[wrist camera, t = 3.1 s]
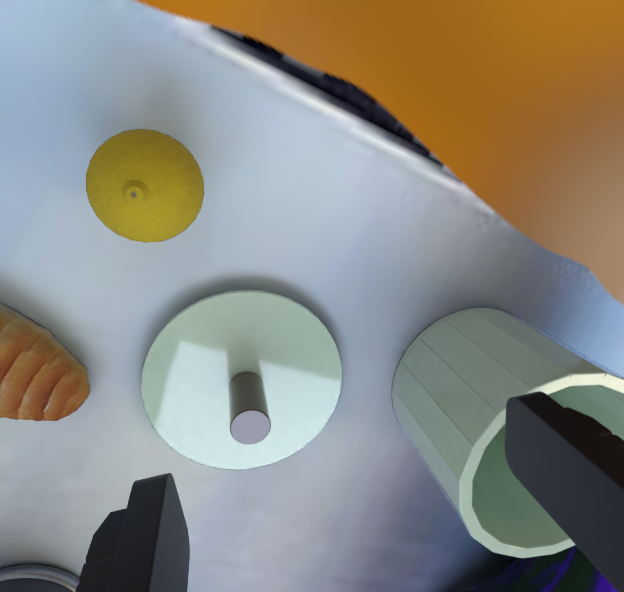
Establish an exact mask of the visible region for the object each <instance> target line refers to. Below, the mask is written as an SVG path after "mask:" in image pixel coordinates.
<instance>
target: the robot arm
mask: <svg viewBox="0 0 624 592" xmlns="http://www.w3.org/2000/svg"><path fill="white" fill-rule="evenodd" d="M505 456H506V460H507V463H508V465H509V468H510V470H511V471H512V473H513V474H514V476H515V477H516V478H517V479H518V480H519V482H520V483H521V484H522V485H523V486H524V487H525V488H526V489H527V491H528V492H529V493H530V494H531V495H532V496H533V497H534V498H535V500H536V501H537V502H538V503H539V504H540V505H541V506H542V507H543V509H544V510H545V511H546V512H547V513H548V514H549V515H550V516H551V518H552V519H553V520H554V521H555V522H556V523H557V524H558V525H559V527H560V528H561V529H562V530H563V531H564V532H565V533H566V534H567V536H568V537H569V538H570V539H571V540H572V541H573V542H574V543H575V545H576V546H577V547H578V548H579V549H580V550H581V551H582V552H583V554H584V555H585V556H586V557H587V558H588V559H589V560H590V561H591V563H592V564H593V565H594V566H595V567H596V568H597V569H598V570H599V572H600V573H601V574H602V575H603V576H604V577H605V578H606V579H607V581H608V582H609V583H610V584H611V585H612V586H613V587H614V588H615V589H616V591H617V592H624V440H623V439H621V438H620V437H619V436H617V435H616V434H615V435H613V434H612V431H610V430H609V429H608V428H606V427H605V426H603V425H602V424H601V423H599V422H598V421H597V420H595V419H594V418H593V417H590V416H588V415H586V414H583V413H581V412H579V411H576V410H574V409H572V408H569V407H566V408H564V407H563V406H561V405H560V404H559V403H557V402H556V401H555V400H553V399H552V398H551V397H549V396H548V395H547V394H545V393H544V392H541V391H537V392H533V393H528V394H524V395H520V396H515V397H511V398H509V399H508V401H507V403H506V420H505ZM189 558H190V547H189V536H188V529H187V525H186V521H185V518H184V514H183V510H182V507H181V503H180V500H179V496H178V492H177V489H176V485H175V482H174V478H173V476H172V474H171V473H168V474H163V475H159V476H155V477H150V478H146V479H141V480H137V481H135V482H134V483H133V486H132V490H131V493H130V497H129V501H128V505H127V509H122V510H118V511H114V512H110V514H109V515H108V516H107V518H106V519H105V520H104V522H103V523H102V524H101V526H100V527H99V528H98V530H97V531H96V532H95V534H94V535H93V538H92V541H91V544H90V547H89V550H88V553H87V557H86V564H84V566H83V569H82V572H81V575H80V578H79V579H78V578H77V577H75V576H74V575H72V574H70V573H68V572H66V571H63V570H61V569H58V568H54V567H50V566H43V565H19V566H12V567H7V568H3V569H0V592H187V585H188V572H189Z"/></svg>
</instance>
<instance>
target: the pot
mask: <svg viewBox="0 0 624 592" xmlns="http://www.w3.org/2000/svg"><path fill="white" fill-rule="evenodd" d="M537 391H541V392H544V393H545V394H547V395H548V396H549V397H551V398H552V399H553V400H555V401H556V402H557V403H559V404H560V405H561V406H563V407H564V408H566V407H569V408H572V409H574V410H576V411H579V412H581V413H583V414H586V415H588V416H590V417H593V418H594V419H595V420H597V421H598V422H599V423H601V424H602V425H603V426H605V427H606V428H608V429H609V430H610V431H612V434H613V435H615V434H616V435H617V436H619V437H620V438H621V439H623V440H624V377H622V376H621V375H619V374H617V373H615V372H614V371H612V370H610V369H608V368H607V367H605V366H603V365H601V364H600V363H598V362H596V361H594V360H593V359H591V358H589V357H587V356H586V355H584V354H582V353H580V352H579V351H577V350H575V349H573V348H572V347H570V346H568V345H566V344H565V343H563V342H561V341H559V340H558V339H556V338H554V337H552V336H551V335H549V334H547V333H545V332H543V331H542V330H540V329H538V328H536V327H535V326H533V325H531V324H529V323H528V322H526V321H524V320H522V319H520V318H518V317H516V316H513V315H511V314H509V313H507V312H505V311H502V310H498V309H493V308H471V309H465V310H461V311H457V312H455V313H452V314H450V315H447V316H445V317H443V318H441V319H439V320H438V321H436V322H435V323H433V324H432V325H430V326H429V327H428V328H426V329H425V330H424V331H423V332H422V333H421V334H420V335H419V336H418V337H417V338H416V339H415V340H414V341H413V342H412V343H411V345H410V346H409V347H408V349H407V350H406V352H405V353H404V355H403V357H402V358H401V360H400V363H399V365H398V367H397V370H396V373H395V376H394V380H393V387H392V402H393V409H394V412H395V415H396V418H397V420H398V422H399V424H400V425H401V427H402V429H403V431H404V433H405V435H406V436H407V438H408V440H409V441H410V443H411V444H412V446H413V447H414V449H415V450H416V452H417V453H418V455H419V457H420V458H421V460H422V461H423V463H424V464H425V466H426V467H427V469H428V470H429V472H430V474H431V475H432V477H433V478H434V480H435V481H436V483H437V484H438V486H439V487H440V489H441V491H442V492H443V494H444V495H445V497H446V498H447V500H448V501H449V503H450V505H451V506H452V508H453V509H454V511H455V512H456V514H457V515H458V517H459V518H460V520H461V522H462V523H463V525H464V526H465V528H466V529H467V531H468V532H469V534H470V535H471V537H472V538H474V539H475V540H477V541H478V542H479V543H481V544H482V545H483V546H485V547H486V548H488V549H489V550H490V551H492V552H494V553H498V554H503V555H508V556H512V557H517V558H528V557H536V556H544V555H551V554H555V553H558V552H560V551H562V550H565V549H567V548H570V547H572V546H574V545H575V543H574V542H573V541H572V540H571V539H570V538H569V537H568V536H567V534H566V533H565V532H564V531H563V530H562V529H561V528H560V527H559V525H558V524H557V523H556V522H555V521H554V520H553V519H552V518H551V516H550V515H549V514H548V513H547V512H546V511H545V510H544V509H543V507H542V506H541V505H540V504H539V503H538V502H537V501H536V500H535V498H534V497H533V496H532V495H531V494H530V493H529V492H528V491H527V489H526V488H525V487H524V486H523V485H522V484H521V483H520V482H519V480H518V479H517V478H516V477H515V476H514V474H513V473H512V471H511V470H510V468H509V465H508V463H507V460H506V456H505V420H506V403H507V401H508V399H509V398H511V397H515V396H520V395H524V394H528V393H533V392H537Z"/></svg>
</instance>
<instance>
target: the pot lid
mask: <svg viewBox="0 0 624 592" xmlns="http://www.w3.org/2000/svg"><path fill="white" fill-rule="evenodd" d="M341 385H342V365H341V359H340V355H339V352H338V349H337V346H336V344H335V342H334V340H333V338H332V336H331V334H330V332H329V331H328V329H327V328H326V327H325V325H324V324H323V323H322V322H321V321H320V319H319V318H318V317H317V316H316V315H315V314H313V313H312V312H311V311H310V310H308V309H307V308H306V307H304V306H303V305H301V304H299V303H298V302H296V301H294V300H292V299H290V298H287V297H285V296H282V295H279V294H275V293H272V292H266V291H260V290H236V291H228V292H223V293H219V294H215V295H212V296H209V297H206V298H204V299H201V300H199V301H197V302H195V303H193V304H191V305H189V306H188V307H187V308H185V309H184V310H182V311H181V312H179V313H178V314H177V315H176V316H174V317H173V318H172V319H171V320H170V321H169V322H168V323H167V324H166V325H165V326H164V328H163V329H162V330H161V331H160V332H159V334H158V335H157V337H156V338H155V340H154V341H153V343H152V345H151V347H150V349H149V352H148V354H147V356H146V360H145V363H144V367H143V371H142V379H141V394H142V400H143V405H144V408H145V411H146V414H147V417H148V419H149V421H150V422H151V424H152V426H153V428H154V429H155V431H156V432H157V433H158V435H159V436H160V437H161V438H162V439H163V440H164V441H165V442H166V443H167V444H168V445H169V446H170V447H171V448H173V449H174V450H175V451H176V452H178V453H179V454H181V455H183V456H185V457H186V458H188V459H190V460H193V461H195V462H197V463H200V464H203V465H207V466H210V467H215V468H221V469H235V470H237V469H250V468H256V467H262V466H265V465H269V464H272V463H275V462H277V461H280V460H282V459H285V458H287V457H288V456H290V455H292V454H294V453H296V452H297V451H299V450H300V449H302V448H303V447H305V446H306V445H307V444H308V443H309V442H310V441H312V440H313V439H314V438H315V437H316V436H317V435H318V434H319V433H320V431H321V430H322V429H323V428H324V426H325V425H326V424H327V422H328V421H329V419H330V417H331V415H332V414H333V412H334V410H335V407H336V405H337V402H338V399H339V395H340V391H341Z"/></svg>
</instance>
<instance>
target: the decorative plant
mask: <svg viewBox="0 0 624 592" xmlns="http://www.w3.org/2000/svg"><path fill="white" fill-rule="evenodd" d="M466 592H617V591H616V589H615V588H614V587H613V586H612V585H611V584H610V583H609V582H608V581H607V579H606V578H605V577H604V576H603V575H602V574H601V573H600V572H599V570H598V569H597V568H596V567H595V566H594V565H593V564H592V563H591V561H590V560H589V559H588V558H587V557H586V556H585V555H584V554H583V552H582V551H581V550H580V549H579V548H578V547H577V546H576V545H574V546H572V547H570V548H567V549H565V550H562V551H560V552H558V553H555V554H551V555H544V556H536V557H528V558H518V559H517V560H515V561H514V562H513V563H512V564H510V565H509V566H508V567H506V568H505V569H504V570H503V571H501V572H500V573H499V574H498V575H496V576H494V577H492V578H491V579H489V580H487V581H485V582H484V583H482V584H480V585H478V586H477V587H475V588H473V589H471V590H469V591H466Z"/></svg>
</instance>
